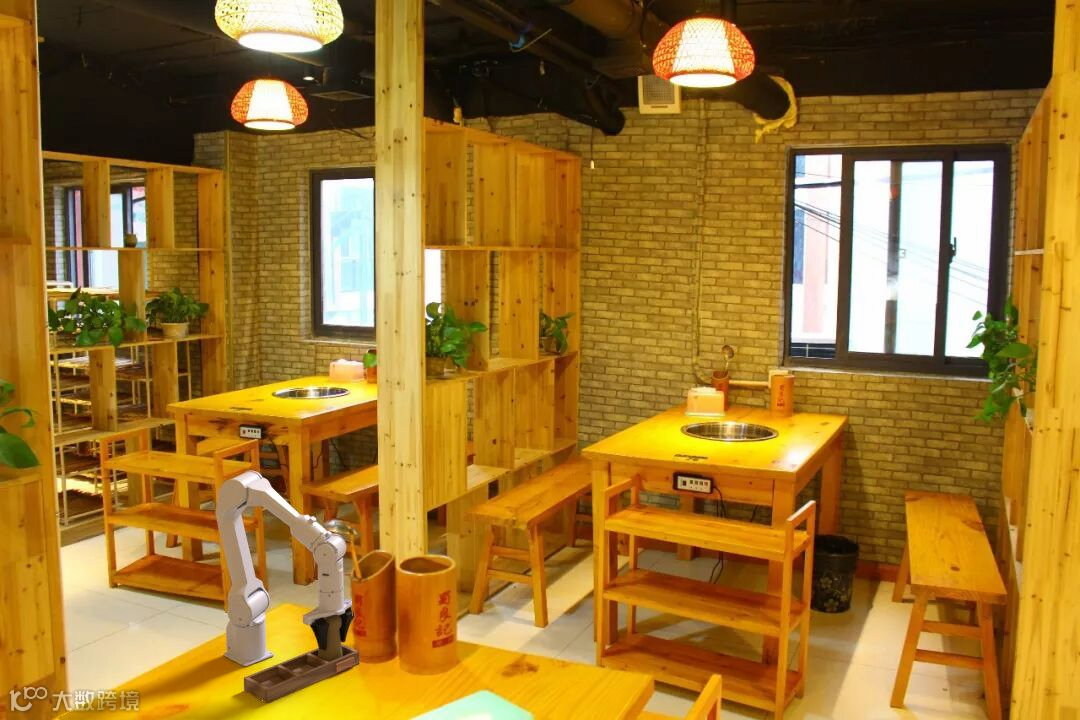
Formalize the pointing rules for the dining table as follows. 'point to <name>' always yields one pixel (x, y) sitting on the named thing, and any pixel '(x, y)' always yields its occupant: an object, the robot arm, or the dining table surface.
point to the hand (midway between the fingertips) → (332, 644)
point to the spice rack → (297, 674)
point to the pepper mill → (332, 640)
